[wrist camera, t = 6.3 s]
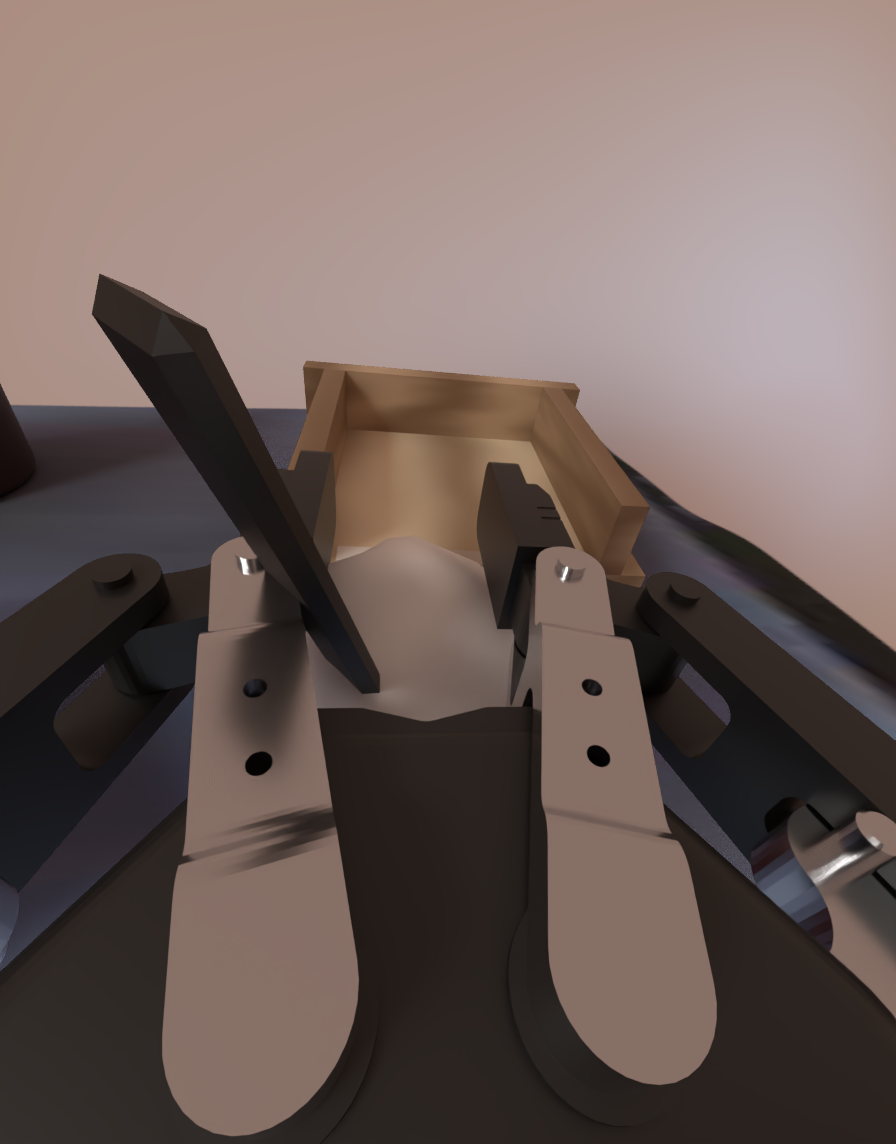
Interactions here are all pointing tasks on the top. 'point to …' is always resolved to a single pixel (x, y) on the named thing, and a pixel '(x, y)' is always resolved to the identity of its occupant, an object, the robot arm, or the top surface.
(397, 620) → the cocoa
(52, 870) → the top surface
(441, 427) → the wooden tray
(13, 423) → the bottle
